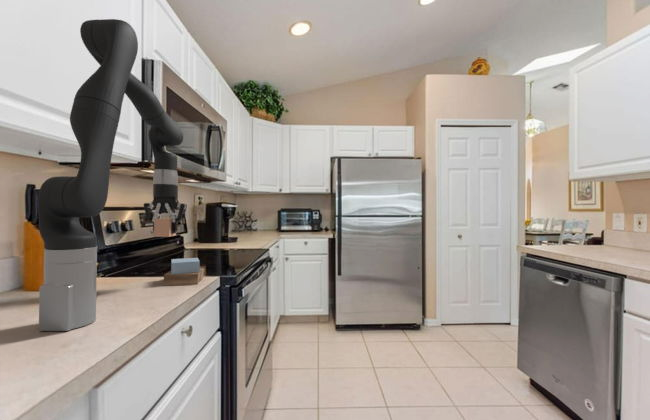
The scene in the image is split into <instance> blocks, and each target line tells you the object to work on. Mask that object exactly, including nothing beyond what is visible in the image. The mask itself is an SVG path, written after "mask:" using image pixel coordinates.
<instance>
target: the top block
mask: <svg viewBox="0 0 650 420" xmlns="http://www.w3.org/2000/svg"><path fill="white" fill-rule="evenodd" d="M170 264H171V265H170V267H171V268H170V269H171V270H170V271H171V273H172V275H173V274H186V273H199V272H200V268H201V265H200V264H201V261H200V259H199V258H198V257H186V258H185V257H184V258H173V259H172V258H171V263H170Z"/></svg>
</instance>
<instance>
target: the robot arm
mask: <svg viewBox="0 0 650 420" xmlns="http://www.w3.org/2000/svg"><path fill="white" fill-rule="evenodd" d="M80 38H81V41H82V43H83V44H84V46H85V48H86V50H87V51H88V53H90V56H92V57H93V59H94V60H95V61H96V62H97V63H98V64H99V67H98V68H97V69H96V71H94V72H93V73H92V74H91V75H90V76H89V77H88V79H86V80H85V81H84V82H83V83H82V85H81V86H80V87H79V89H78V90H77V91H76V93H75V94H74V95H75V96H74V98H73V103H72V106H71V111H70V114H69V115H70V116H69V122H70V126H71V129H72V132H73V134H74V136H75V139H76V141H77V143H78V146H79V148H80V163H79V167H78V171H77V174H76V176H64V175H63V176H62V175H61V176H52V177H49V178H47V179H46V180H45V181H44V182H43V183H42V184H41V186H40V188H39V191H38V195H37V196H38V197H37V213H38V228H39V235H40V237H41V239H42V242H43V244H44V245H43V284H42V285H40V286H39V290H38V292H39V293H38V294H39V295H38V296H39V298H38V300H39V301H38V302H39V303H38V304H39V305H38V306H39V307H38V331H39V332H45V331H46V332H69V331H70V330H74V329H78V328H81V327H85V326H87V325H90V324H92V323H94V322H95V321H96V320H97V318H96V317H97V276H98V275H97V274H98V273H97V271H98V270H97V268H98V262H97V261H98V237H97V235H96V233H94V232H92V231H89V230H87V229H86V228H84V227H83V226H82V224H81V223H80V218H94V217H97V216H98V215H100V214H101V213H102V212H103V210H104V209H105V207H106V204H107V200H108V195H109V185H110V172H111V163H112V157H113V151H114V145H115V139H116V135H117V131H118V128H119V127H118V126H119V123H120V119H121V112H122V106H123V105H122V104H123V102H124V97H125V95H126V96H127V98H128V99H129V100H130V102H131V103H132V105H133V106H134V108H135V109H136V111H137V112H138V114H139V116H140V117H141V119H142V120H143V122H144V123H145V124H146V125H148V126H151V127H150V128H149V130H148V140H149V143H150V148H151V150H152V154H153V161H154V162H153V163H154V165H153V166H154V168H153V179H152V181H153V182H152V185H153V186H152V198H153V200H152V201H151V202H145V203H143V209H144V212H145V217H146V220H147V221H151V222H152V232H153V233H154V219H157V218H162V216H163V214H168V216H169V217H170V218H171V220H172V223H171V233H172V234H174V233H176V234H177V232H178V229H179V226H178V223H179V222H180V221H181V222H182V221H184V219H185V215H186V211H187V209H188V207H187V206H188V204H187V203H182V202H179V199H178V197H179V174H178V156H177V155H176V154H175V153H172V152H167V150H166V148H165V147H178V146H180V145H181V144H182V143H183V142H184V133H183V130H182V129H181V127H180V125H179V124H178V123H177V122H176V121H175V120H174V119H173V118H172V117H171V116H170V115H169V114H168V113H167V112H166V111H165V109H164V107H163V106H162V103H161V102H160V100H159V99H158V97H157V94H155V93H154V91H152V90H151V89H150V87H148V86H147V84H145V83H143V82H142V81H141V80H140V79H139V78H137V77H136V76H135V75H134V74H132V73H131V72H132V70H133V68H134V64H135V61H136V59H137V57H138V56H137V55H138V51H139V42H138V36H137V34H136V31H135V29H134V28H133V26H132V25H131V24H130V23H128V22H127V21H125V20H122V19H115V18H110V19H109V18H108V19H89V20H86V21H83V22H82V24H81V26H80ZM153 208H154V209H155V210H154V212H153ZM177 208H178V213H177V211H176V209H177Z"/></svg>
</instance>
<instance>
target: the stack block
mask: <svg viewBox="0 0 650 420" xmlns="http://www.w3.org/2000/svg"><path fill="white" fill-rule="evenodd" d="M171 223H172V220H171V218H169V217H161V218H157V219H154V232H153V237H157V238H158V237H159V238H164V237H166V238H170V237H175V236H177V232H176V233H174V234H172V233H171Z"/></svg>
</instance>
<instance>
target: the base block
mask: <svg viewBox="0 0 650 420" xmlns="http://www.w3.org/2000/svg"><path fill="white" fill-rule="evenodd" d="M204 277H205V268H202V267H200V272H199V273H186V274H173V275H172V273H171V270H169V271H168V272H166V273H164V274H163V286H184V285H183V284H187V286H188V284H192V285H199V284H200V283H201V281H203V279H204Z"/></svg>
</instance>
